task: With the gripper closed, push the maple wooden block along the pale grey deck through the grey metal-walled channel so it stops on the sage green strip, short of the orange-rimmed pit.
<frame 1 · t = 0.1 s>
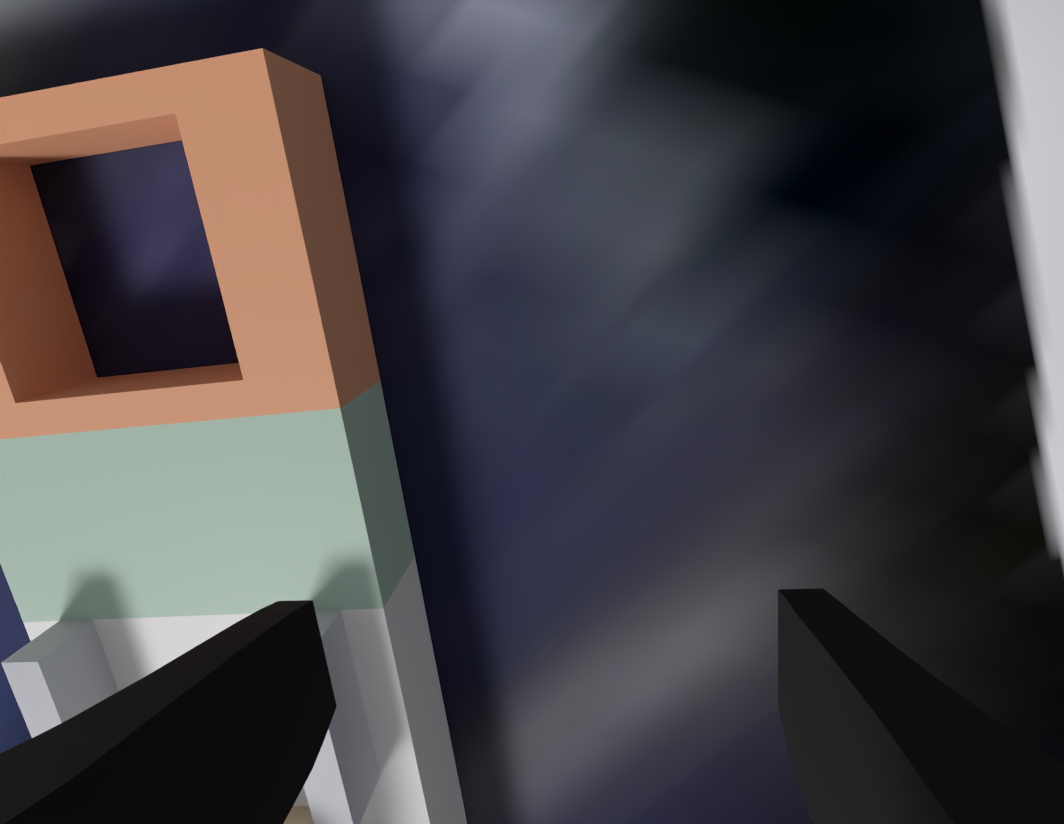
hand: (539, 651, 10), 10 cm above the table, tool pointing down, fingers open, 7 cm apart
channel deck: (262, 615, 23), on the table
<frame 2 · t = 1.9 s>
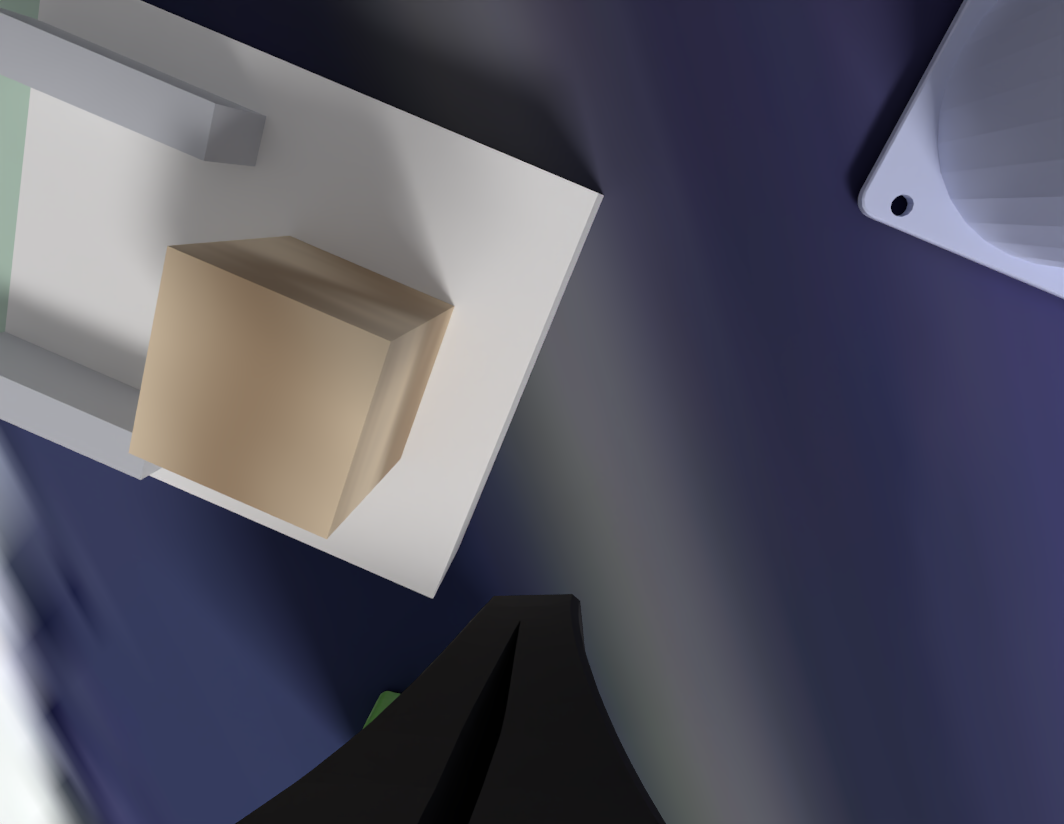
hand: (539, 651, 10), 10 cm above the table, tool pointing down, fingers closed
ink box: (488, 756, 24), on the table
maple block: (347, 352, 17), point 3 cm above the table, touching channel deck
channel deck: (164, 235, 20), on the table
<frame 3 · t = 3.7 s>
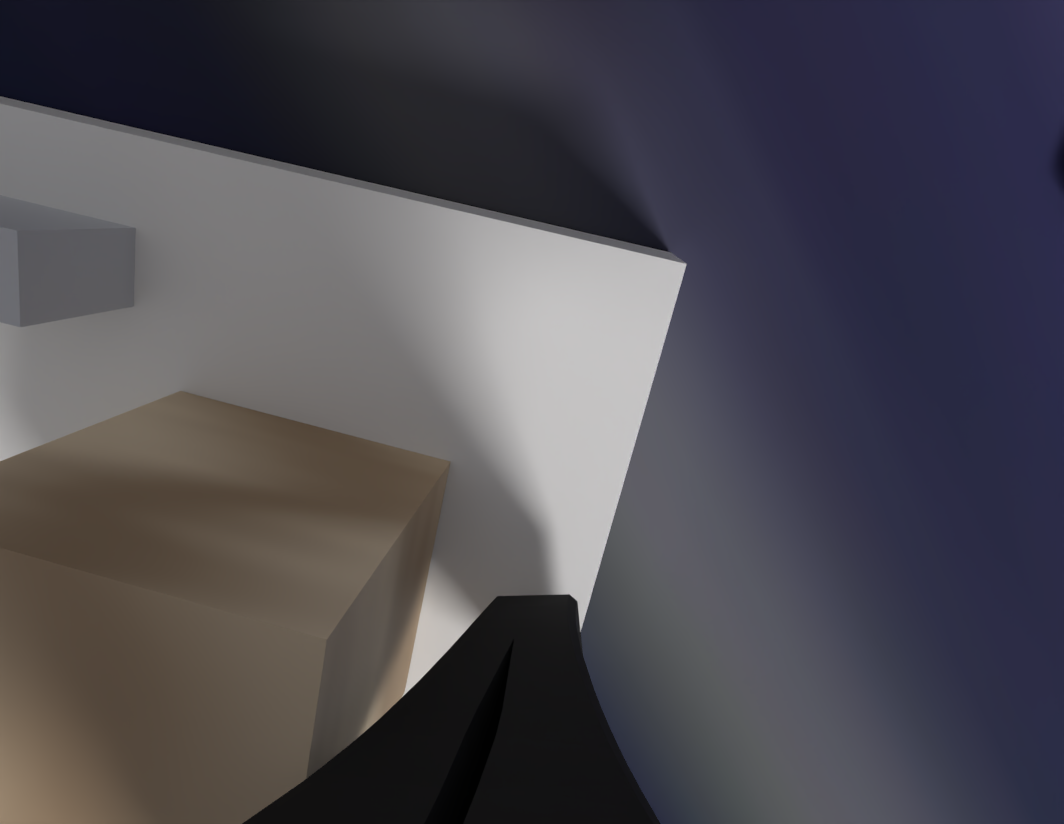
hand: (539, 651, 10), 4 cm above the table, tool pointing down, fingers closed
maple block: (298, 548, 11), point 3 cm above the table, touching gripper
channel deck: (57, 401, 14), on the table
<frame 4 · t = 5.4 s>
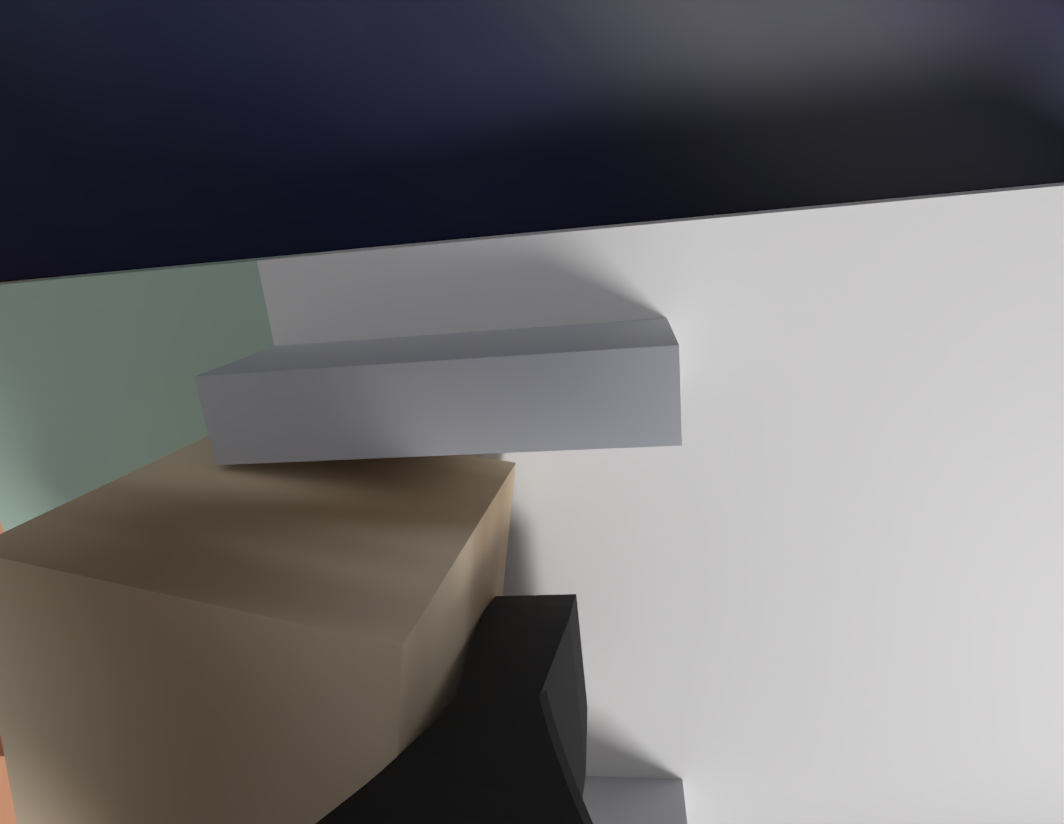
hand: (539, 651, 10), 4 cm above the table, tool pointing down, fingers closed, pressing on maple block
maple block: (373, 564, 11), point 3 cm above the table, touching channel deck, gripper
channel deck: (475, 527, 14), on the table
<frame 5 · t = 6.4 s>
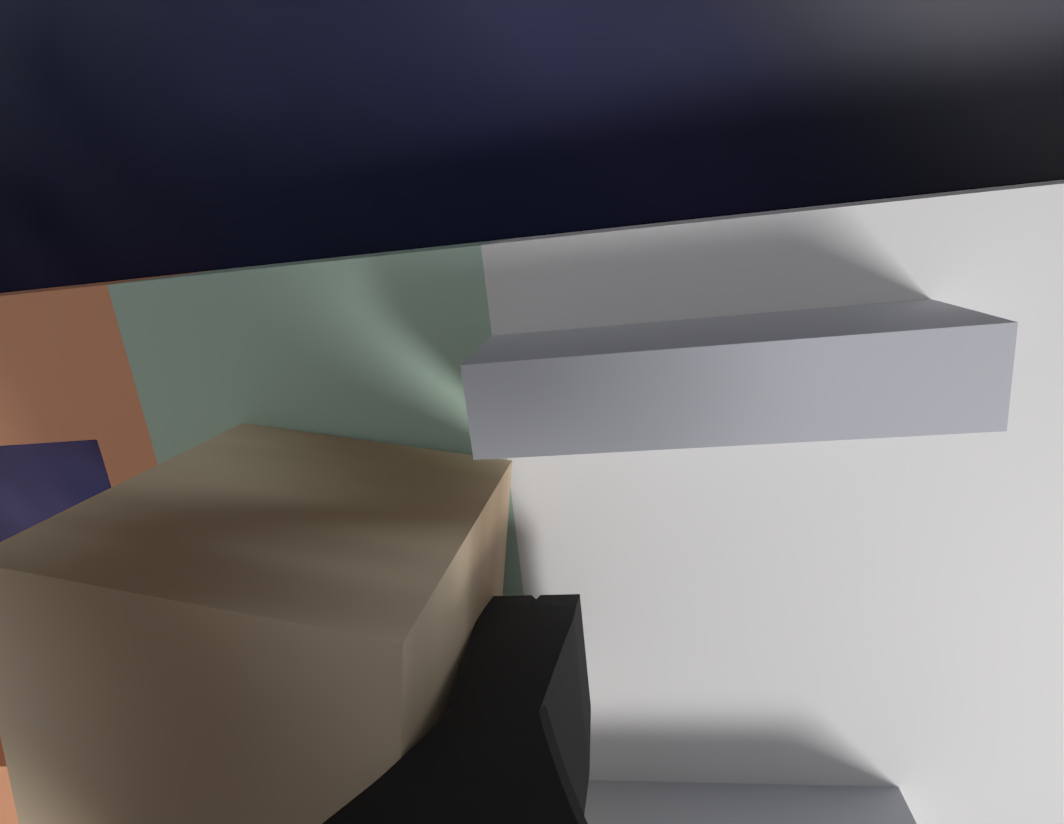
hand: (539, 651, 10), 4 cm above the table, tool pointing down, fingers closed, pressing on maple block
maple block: (372, 566, 11), point 3 cm above the table, touching channel deck, gripper
channel deck: (640, 526, 13), on the table
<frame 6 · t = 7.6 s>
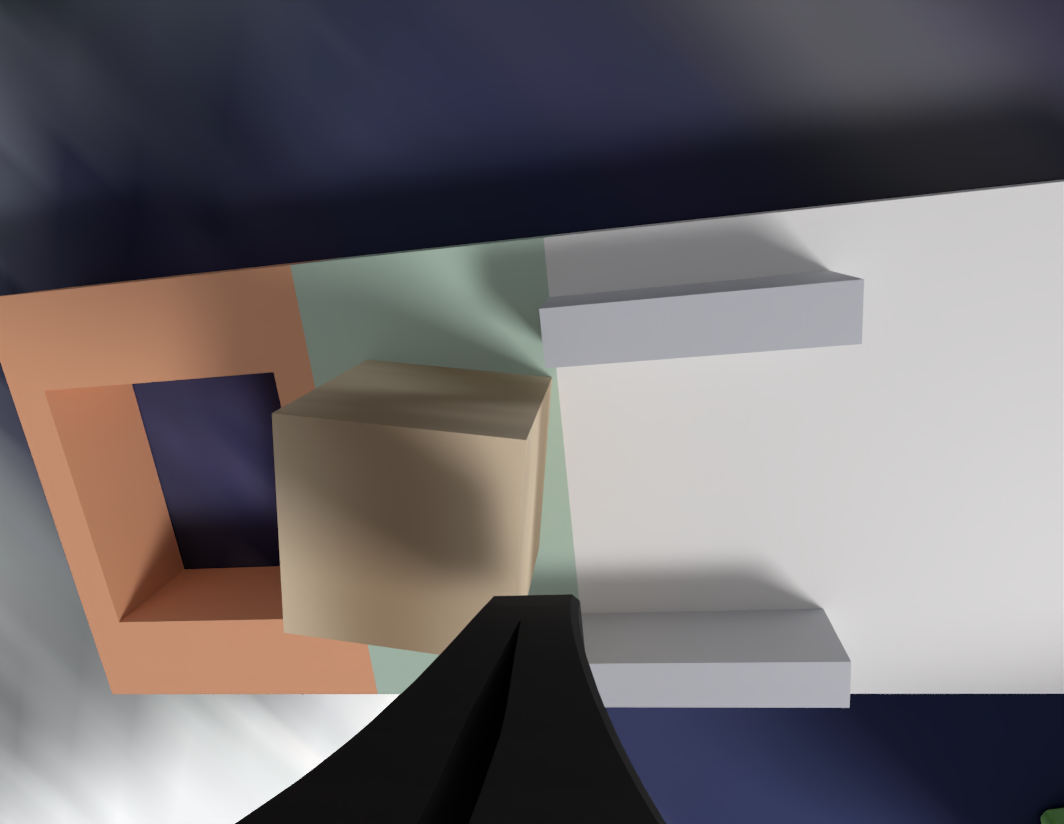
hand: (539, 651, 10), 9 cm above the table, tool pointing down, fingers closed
maple block: (455, 456, 16), point 3 cm above the table, touching channel deck
channel deck: (645, 443, 18), on the table
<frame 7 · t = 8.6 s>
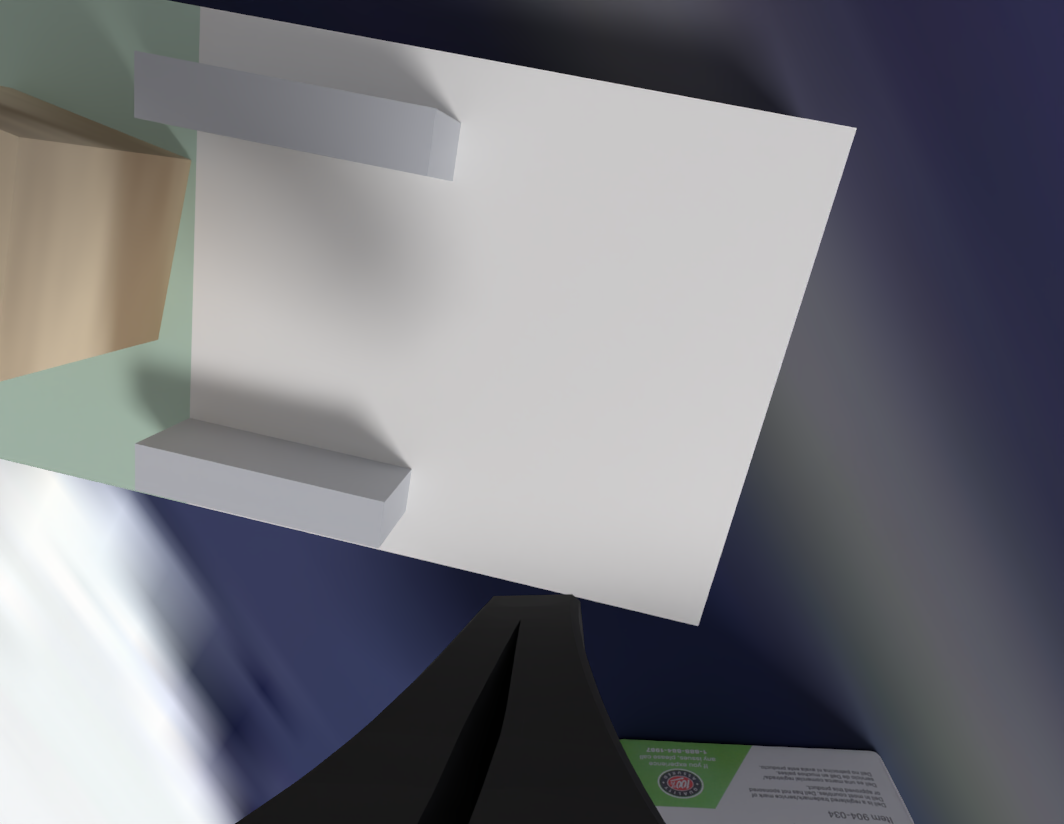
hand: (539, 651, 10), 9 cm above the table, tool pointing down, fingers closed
ink box: (741, 793, 22), on the table
maple block: (88, 219, 16), point 3 cm above the table, touching channel deck
channel deck: (324, 287, 18), on the table
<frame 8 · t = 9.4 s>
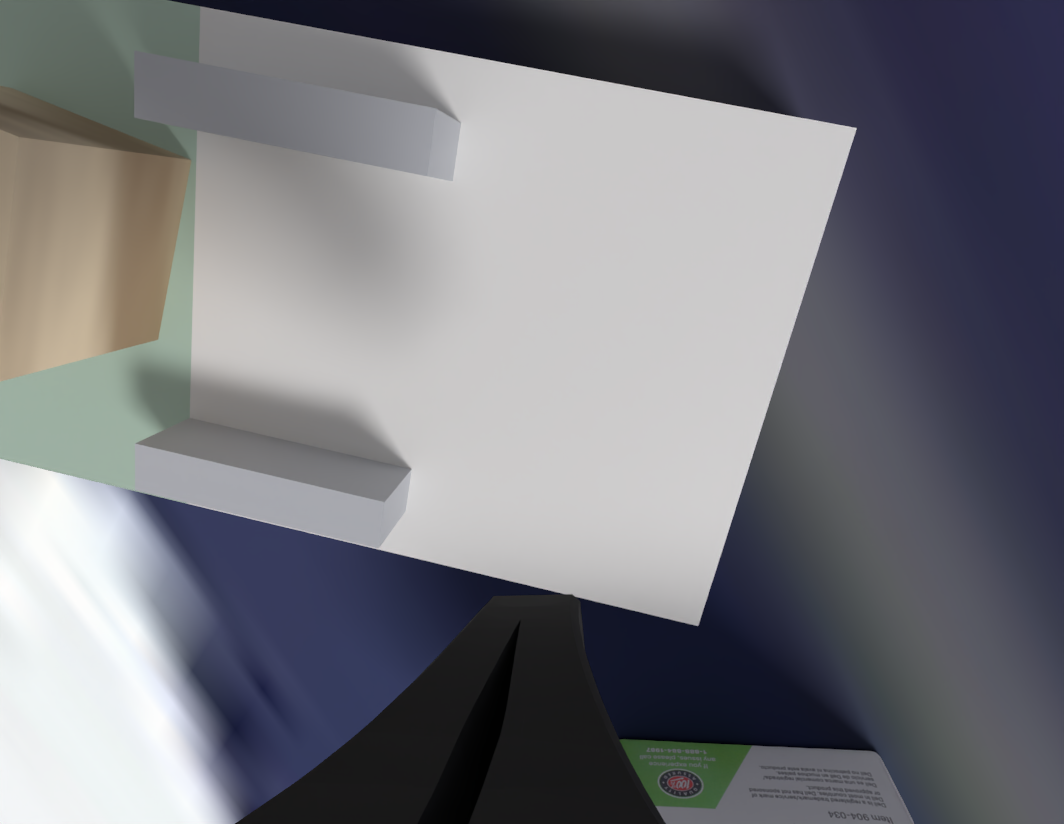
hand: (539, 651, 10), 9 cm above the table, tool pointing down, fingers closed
ink box: (741, 793, 22), on the table
maple block: (88, 219, 16), point 3 cm above the table, touching channel deck
channel deck: (324, 287, 18), on the table
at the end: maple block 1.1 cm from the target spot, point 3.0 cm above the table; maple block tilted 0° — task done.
